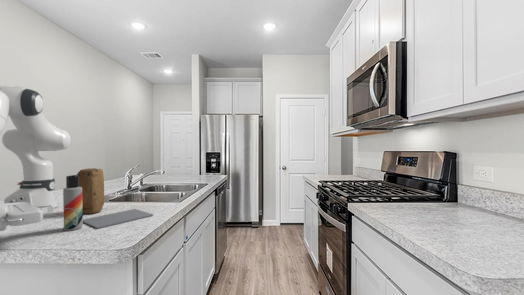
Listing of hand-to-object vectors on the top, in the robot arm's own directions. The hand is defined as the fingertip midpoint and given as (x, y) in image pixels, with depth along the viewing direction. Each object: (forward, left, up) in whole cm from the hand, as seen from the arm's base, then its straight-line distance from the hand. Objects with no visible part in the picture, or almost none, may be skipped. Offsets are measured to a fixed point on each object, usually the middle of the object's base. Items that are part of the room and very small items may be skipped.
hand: (52, 208), depth 91 cm
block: (-2, +28, -9) cm, 30 cm away
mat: (+16, +15, -9) cm, 24 cm away
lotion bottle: (+4, +4, -9) cm, 11 cm away
